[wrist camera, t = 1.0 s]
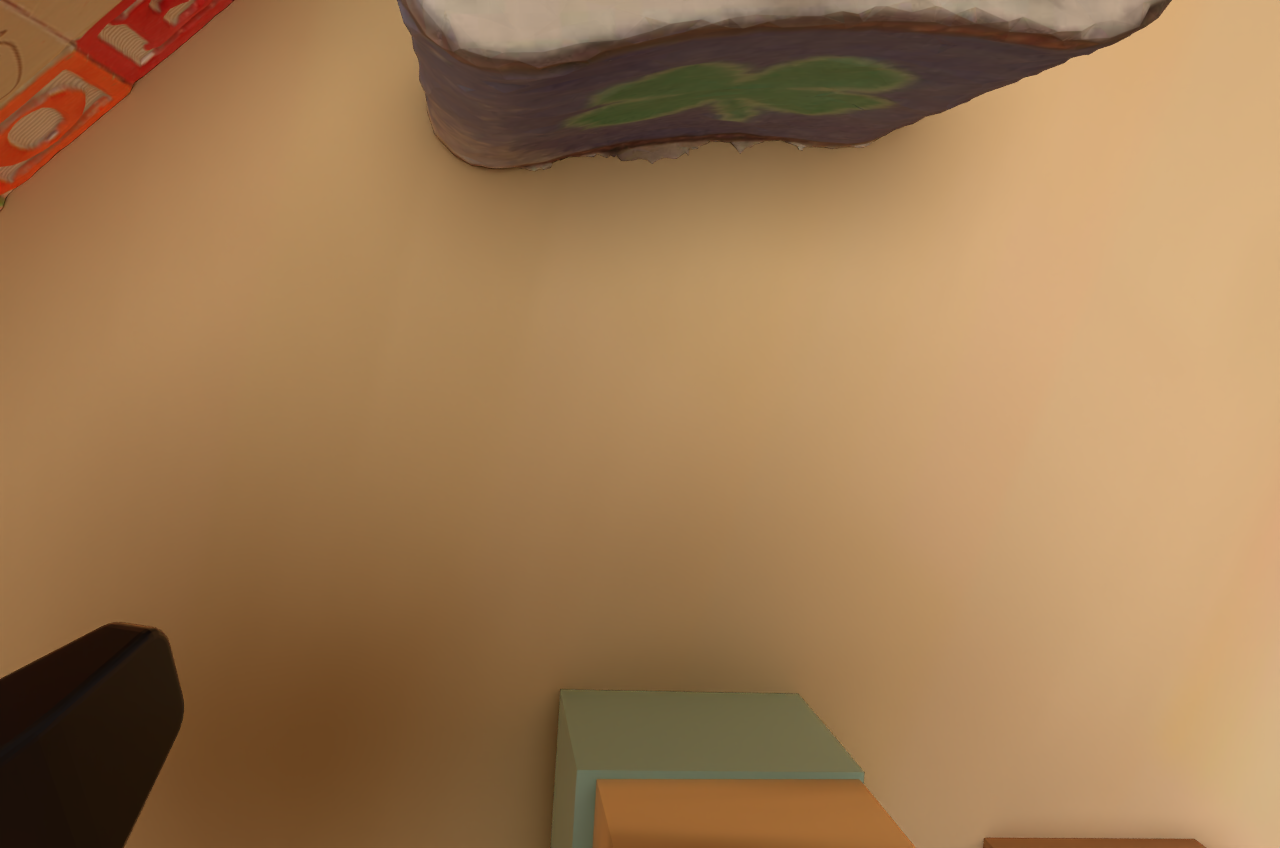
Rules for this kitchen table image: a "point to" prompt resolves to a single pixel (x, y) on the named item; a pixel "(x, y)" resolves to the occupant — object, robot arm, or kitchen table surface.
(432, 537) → the kitchen table surface
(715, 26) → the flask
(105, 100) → the stack of blocks
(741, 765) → the tower base
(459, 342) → the kitchen table surface
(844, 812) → the oak cube
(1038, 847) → the walnut block
